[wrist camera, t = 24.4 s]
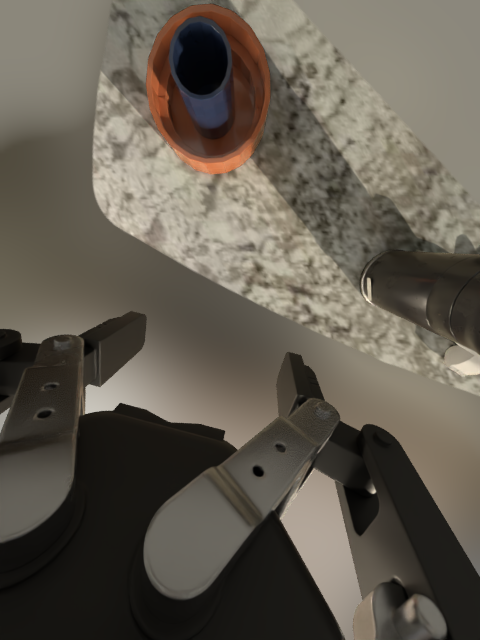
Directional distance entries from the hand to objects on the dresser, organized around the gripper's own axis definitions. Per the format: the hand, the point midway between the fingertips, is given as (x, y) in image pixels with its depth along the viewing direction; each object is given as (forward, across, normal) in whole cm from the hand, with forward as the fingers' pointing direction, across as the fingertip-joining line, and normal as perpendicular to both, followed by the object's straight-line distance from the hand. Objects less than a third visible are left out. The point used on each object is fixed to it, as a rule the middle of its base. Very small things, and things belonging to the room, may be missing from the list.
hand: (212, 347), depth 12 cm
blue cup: (+26, +10, -20) cm, 34 cm away
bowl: (+27, +10, -20) cm, 35 cm away
